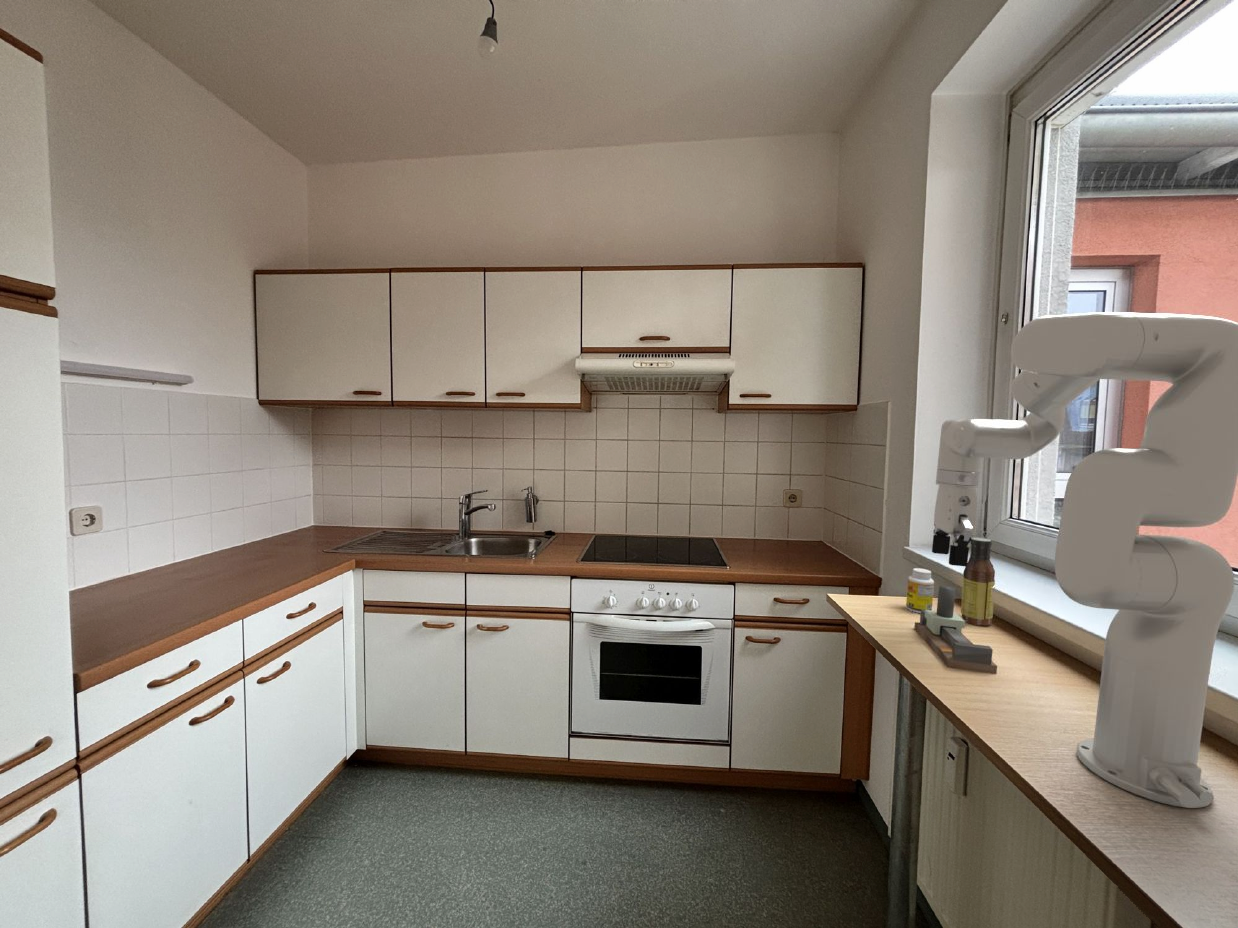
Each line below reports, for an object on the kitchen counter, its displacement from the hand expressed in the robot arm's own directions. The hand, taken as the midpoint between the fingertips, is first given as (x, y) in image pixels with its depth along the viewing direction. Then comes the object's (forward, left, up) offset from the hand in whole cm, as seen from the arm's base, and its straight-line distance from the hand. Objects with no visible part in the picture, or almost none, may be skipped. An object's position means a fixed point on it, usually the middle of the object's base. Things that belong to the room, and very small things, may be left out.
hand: (948, 559), depth 112 cm
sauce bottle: (+15, -12, -18) cm, 26 cm away
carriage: (0, 0, -15) cm, 16 cm away
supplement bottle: (+19, -1, -18) cm, 26 cm away
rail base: (-5, 0, -17) cm, 18 cm away
